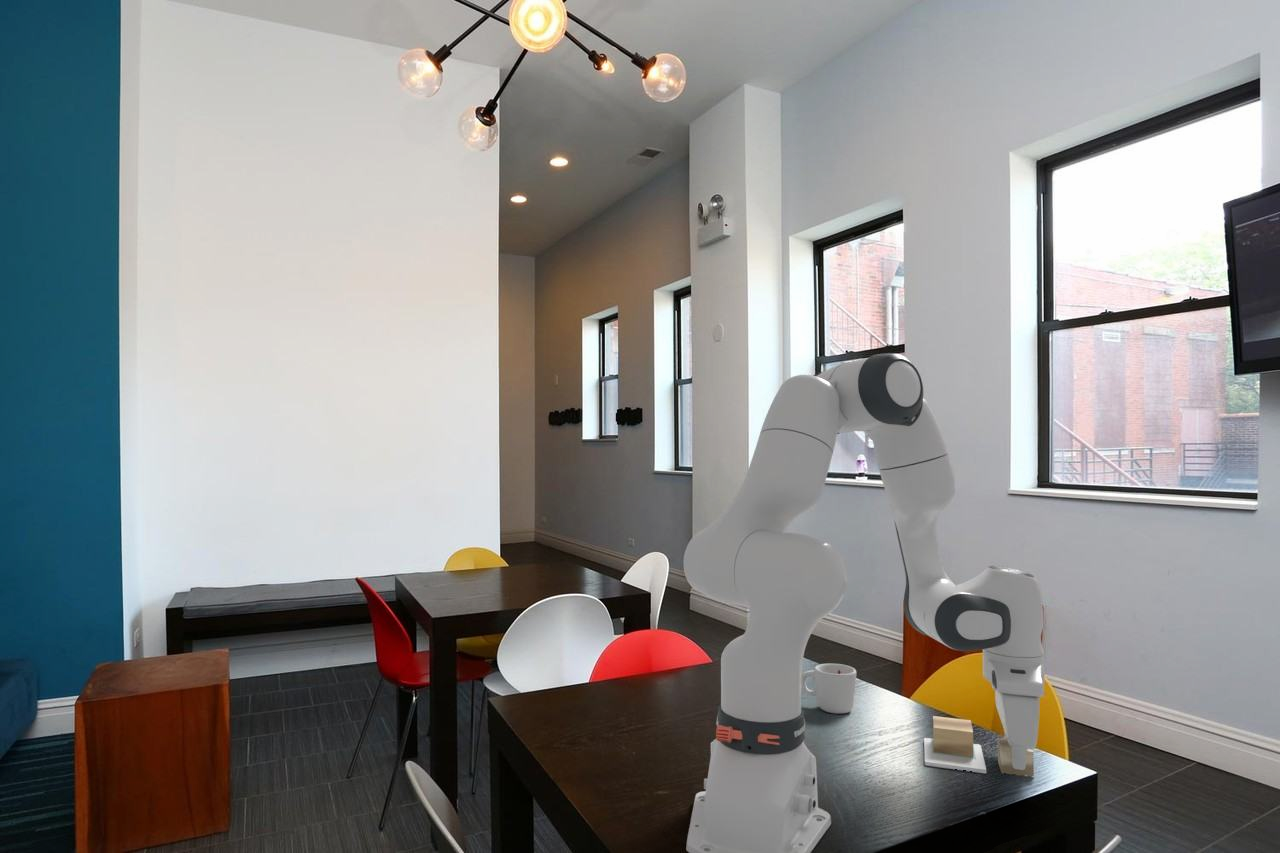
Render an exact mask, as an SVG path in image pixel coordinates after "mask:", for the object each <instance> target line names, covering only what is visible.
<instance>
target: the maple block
mask: <svg viewBox="0 0 1280 853" xmlns="http://www.w3.org/2000/svg"><path fill="white" fill-rule="evenodd" d="M1011 753H1012V749H1011V746H1010V745H1009V743H1008V740H1007V739H1005V737H1003V738H1002V737H997V757H998V758H997V760H998V761H997V762H998V766H999V769H1000V772H1001V774H1004V773H1006V774H1007V775H1012V774H1016V775H1015V776H1020V775H1027V776H1026V777H1028V776H1035V774H1034V761H1035V760H1034V749H1027V754H1026V768H1025V769H1024V770H1020V769H1015V768H1013V766H1012V758H1011Z"/></svg>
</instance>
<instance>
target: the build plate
mask: <svg viewBox="0 0 1280 853" xmlns="http://www.w3.org/2000/svg"><path fill="white" fill-rule="evenodd" d="M923 744H924V745H923V746H924V749H923V750H924V752H923V753H924V766H926V767H927V766H928V767H935V768H942V769H949V770H950V769H951V770H955V769H957V771H963V770H966V771H965V772H970V771H972V772H971V773H977V774H978V773H979V774H987V766H986V762H985V758H984V753H983V749H982V745H981V744H978V743H973V752H974V757H968V756H960V755H952V754H945V753H937V752H934V742H933V738H929V737H924V738H923Z"/></svg>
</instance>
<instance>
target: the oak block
mask: <svg viewBox="0 0 1280 853" xmlns="http://www.w3.org/2000/svg"><path fill="white" fill-rule="evenodd" d="M932 731H933V732H932V734H933V735H932V739H933V742H934V752H937V753H945V754H952V755H960V756H968V757H974V752H973V744H974V729H973V724H972V720H970V719H961V718H954V717H944V716H936V715H932Z"/></svg>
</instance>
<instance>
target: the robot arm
mask: <svg viewBox="0 0 1280 853" xmlns="http://www.w3.org/2000/svg"><path fill="white" fill-rule="evenodd" d="M852 432H853V433H854V432H865V433H866V434H867V435H868V436H869V437H870V439H871V441H872V444H873V450H874V456H875V459H876V464H877V466H878V469H879V470H878V471H879V474H880V477H881V478H880V479H881V482H882V484H883V487H884V491H885V494H886V497H887V500H888V503H889V506H890V510H891V513H892V517H893V520H894V526H895V531H896V536H897V540H898V545H899V549H900V554H901V558H902V563H903V564H902V565H903V568H904V573H905V590H904V593H903V594H904V595H903V612H904V615H905V618H906V620H907V621H908V623H909V625H910V626H911V627H912V628H913V629H914V630H915V631H917V632H918V633H920V634H922V635H924V636H926V637H929V638H932V639H934V640H935V641H936V642H938V643H941V644H943V646H946V647H948V648H949V649H952V650H955V651H960V652H973V651H982V675H983V678H984V679H985V680H986V681H988V682H989V684H991V688H992V690H994V692H995V693H994V695H995V696H994V697H995V700H994V701H995V706H996V709H997V713H998V716H999V718H1000V721H1001V725H1002V727H1003V731H1004V739H1007V740H1008V743H1009V745H1010V746H1011V749H1012V753H1011V758H1012V766H1013V768H1015V769H1020V770H1024V769H1025V768H1026V754H1027V749H1032V750H1035V749H1036V747H1037V742H1038V735H1039V724H1040V723H1039V722H1040V698H1044V696H1045V686H1044V685H1045V678H1046V677H1045V651H1044V646H1043V643H1042V634H1043V629H1044V608H1043V607H1044V605H1043V598H1042V592H1041V587H1040V584H1039V581H1038V579H1037V578H1036V577H1035V576H1034V575H1033V574H1031V573H1030V572H1028V571H1024V570H1021V569H1016V568H1013V567H1008V566H1001V565H989V566H987V567H986V568H985V569H984V570H983V571H982V572H981V573H979V574H978V575H976V576H975V577H973V578H971V579H969V580H966V581H965V582H962V583H959V584H955V583H954V582H953V581H952V580H951V579H950V578H949V576H948V574H947V573H946V571H945V568H944V564H943V559H942V554H941V551H940V550H941V549H940V544H939V542H938V541H939V539H938V536H937V531H936V530H937V528H936V526H937V525H936V524H937V520H938V518H939V515H940V514H941V512H943V510H944V509H946V508H947V507H948V505H949V504H950V503H951V501H952V500H953V497H954V495H955V493H956V482H955V481H956V480H955V472H954V466H953V462H952V459H951V455H950V453H949V448H948V446H947V443H946V440H945V437H944V434H943V431H942V429H941V427H940V424H939V422H938V420H937V418H936V415H935V414H934V412H933V410H932V408H931V406H930V404H929V402H928V401H927V400H926V399H925V398H924V386H923V381H922V378H921V375H920V372H919V370H918V369H917V367H916V366H915V365H914V364H913V363H912V362H911V361H910V360H909V359H908V358H907V357H906V356H904V355H902V354H898V353H889V352H888V353H880V354H878V353H877V354H874V355H872V356H869V357H867V358H861V359H857V360H852V361H846V362H844V363H841V364H838V365H836V366H832V367H830V368H829V369H827V370H825V371H820V372H818V373H815V374H813V375H812V374H799V375H794V376H791V377H789V378H787V379H786V380H785V381H784V382H783V383H782V384H781V385H780V387H779V389H778V391H777V392H776V394H775V396H774V398H773V400H772V402H771V404H770V405H769V409H768V411H767V413H766V416H765V418H764V421H763V423H762V426H761V429H760V433H759V435H758V439H757V442H756V446H755V449H754V452H753V455H752V458H751V461H750V463H749V466H748V470H747V472H746V474H745V478H744V480H743V482H742V483H741V486H740V487H739V489H738V491H737V492H736V494H735V496H734V498H733V499H732V500H731V501H730V503H729V504H728V506H727V507H726V508H725V509H724V510H723V512H722V513H721V514H720V515H719V516H718V517H717V519H715V520H714V521H713V522H711V524H710V525H708V526H707V527H706V528H703V529H702V530H701V531H699V532H697V533H696V534H695V535H693V536H692V538H691V539H689V540H690V541H689V542H688V544H687V546H686V549H685V550H684V556H683V572H684V576H685V579H686V581H687V583H688V584H689V585H690V586H691V588H693V590H695V591H697V592H698V593H700V594H702V595H703V596H706V597H708V598H710V599H713V600H715V601H717V602H720V603H723V604H725V603H726V604H729V605H736V606H740V607H746V608H748V610H749V612H748V613H749V614H748V615H749V616H748V623H747V626H746V629H745V631H744V633H743V634H742V635H739V636H738V637H736V638H734V639H733V640H731V641H730V642H729V643H728V644H727V645H726V646H725V647H724V649H723V651H722V654H721V657H720V705H719V706H718V709H717V717H716V730H715V731H716V732H715V733H716V734H715V737H716V738H715V739H713V741H711V742H710V760H709V765H708V766H709V767H708V774H707V778H703V780H702V787H703V790H705V791H699V792H696V794H695V797H694V802H693V807H692V812H691V817H690V822H689V823H690V824H689V828H688V833H687V839H686V846H685V849H686V852H688V853H812V851H813V850H814V848H815V847H816V846H817V845H818V843H819V842H820V840H821V839H822V837H823V836H824V835H825V833H826V831H827V830H828V829H829V828H830V826H831V824H832V817H831V815H830V813H829V812H828V811H826V810H824V809H822V808H820V807H819V801H818V800H819V799H818V798H819V796H818V795H819V794H818V779H817V778H818V775H817V774H818V773H817V760H816V758H817V757H816V756H815V755H814V754H813V753H812V752H811V751H810V750H809V748H808V747H807V746H806V744H805V738H806V734H805V732H806V731H805V730H806V720H805V712H804V710H803V709H802V686H801V681H802V675H803V672H802V671H803V661H804V656H805V650H806V647H807V644H808V641H809V638H810V636H811V635H812V633H813V631H814V630H815V628H816V626H817V625H818V624H819V623H820V622H821V620H822V619H824V618H825V617H827V616H828V615H830V614H831V613H833V611H834V610H836V608H837V607H838V606H839V604H841V602H842V600H843V598H844V596H845V593H846V590H847V587H848V586H847V585H848V571H847V566H846V563H845V560H844V558H843V556H842V554H841V553H840V551H839V549H838V548H837V547H835V546H834V545H833V544H831V543H830V542H826V541H823V540H820V539H818V538H815V537H813V536H812V537H811V536H810V535H809V536H808V535H806V534H802V533H795V532H794V533H792V532H786V531H787V529H788V528H789V527H790V526H791V525H792V524H793V523H794V522H795V521H796V520H797V519H799V518H801V517H802V516H804V515H805V514H808V513H809V512H811V511H812V510H813V509H815V508H816V507H817V506H818V505H819V503H820V501H821V498H822V496H823V492H824V488H825V484H826V480H827V477H828V473H829V470H830V465H831V462H832V458H833V454H834V450H835V448H836V447H835V445H836V442H837V438H838V437H837V435H839V434H841V433H842V434H843V433H844V434H845V433H852Z"/></svg>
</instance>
